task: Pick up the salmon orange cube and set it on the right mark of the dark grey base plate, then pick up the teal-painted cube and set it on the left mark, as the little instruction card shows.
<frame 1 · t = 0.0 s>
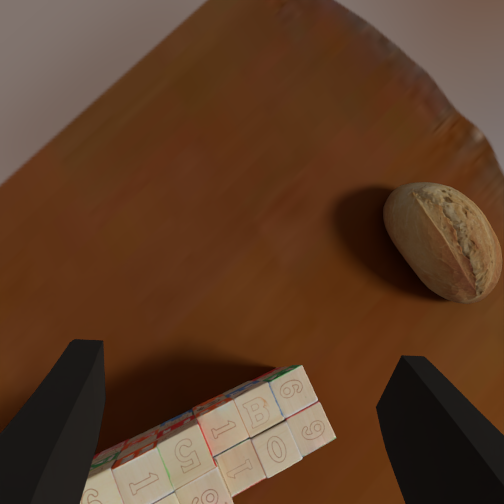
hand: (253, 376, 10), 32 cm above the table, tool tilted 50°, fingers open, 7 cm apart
stack of blocks: (188, 446, 40), on the table
bread roll: (422, 250, 49), on the table
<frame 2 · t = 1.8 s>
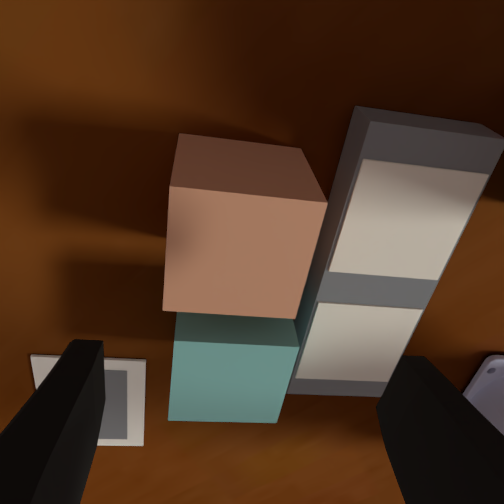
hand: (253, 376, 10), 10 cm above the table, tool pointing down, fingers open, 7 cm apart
teal cube: (226, 308, 22), on the table
salmon orange cube: (233, 195, 19), on the table
base plate: (364, 264, 21), on the table
instruction card: (93, 403, 26), on the table
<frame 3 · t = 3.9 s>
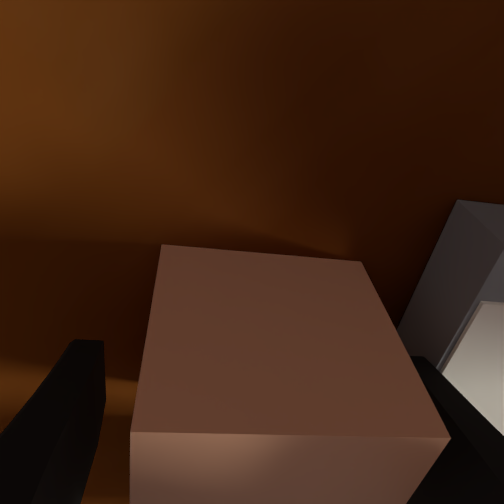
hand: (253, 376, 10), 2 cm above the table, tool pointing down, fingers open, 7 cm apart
salmon orange cube: (249, 325, 12), on the table
base plate: (439, 405, 15), on the table
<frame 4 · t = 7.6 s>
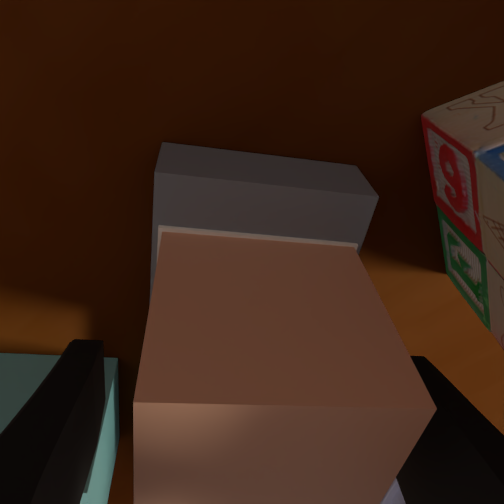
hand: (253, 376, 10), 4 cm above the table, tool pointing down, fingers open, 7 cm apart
teal cube: (53, 397, 17), on the table
salmon orange cube: (247, 312, 12), point 2 cm above the table, touching base plate
base plate: (228, 345, 16), on the table
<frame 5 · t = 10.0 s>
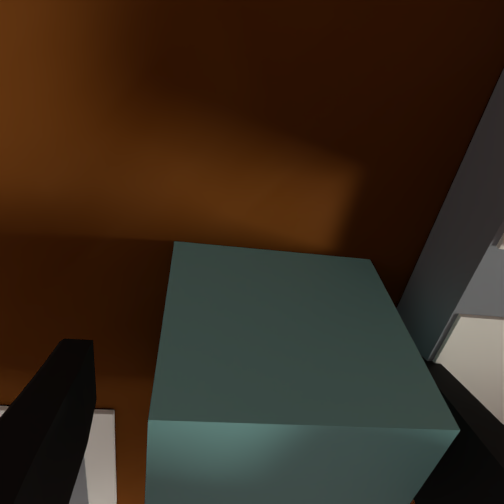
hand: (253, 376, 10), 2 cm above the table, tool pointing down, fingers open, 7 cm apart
teal cube: (258, 322, 12), on the table
instruction card: (29, 477, 15), on the table
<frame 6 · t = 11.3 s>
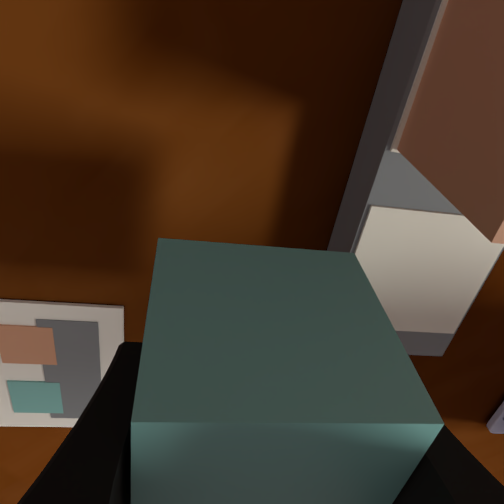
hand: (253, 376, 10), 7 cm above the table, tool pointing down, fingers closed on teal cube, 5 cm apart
teal cube: (245, 319, 12), point 5 cm above the table, touching gripper
base plate: (429, 162, 15), on the table
instruction card: (54, 369, 19), on the table
when the fingers open (4 cm above the table, at t = 13.2 s): teal cube stays where it is, resting on base plate.
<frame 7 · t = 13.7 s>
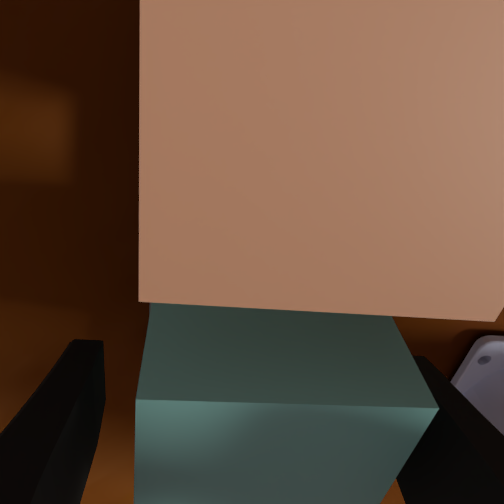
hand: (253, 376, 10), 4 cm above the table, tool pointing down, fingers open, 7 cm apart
teal cube: (248, 311, 12), point 2 cm above the table, touching base plate
salmon orange cube: (300, 49, 9), point 2 cm above the table, touching base plate
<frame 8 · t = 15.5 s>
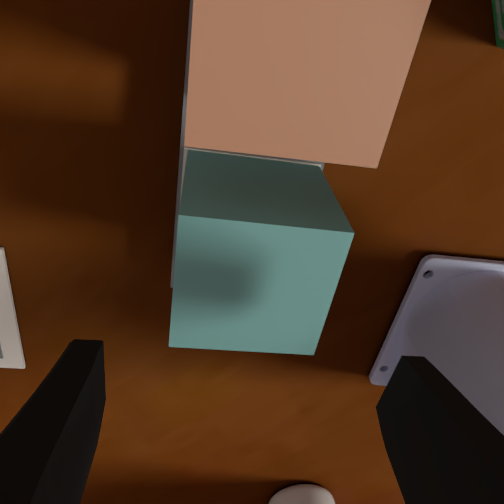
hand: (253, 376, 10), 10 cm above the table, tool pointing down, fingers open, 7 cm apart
drinking glass: (299, 495, 35), on the table
teal cube: (245, 216, 17), point 2 cm above the table, touching base plate
salmon orange cube: (277, 25, 14), point 2 cm above the table, touching base plate
base plate: (253, 116, 17), on the table
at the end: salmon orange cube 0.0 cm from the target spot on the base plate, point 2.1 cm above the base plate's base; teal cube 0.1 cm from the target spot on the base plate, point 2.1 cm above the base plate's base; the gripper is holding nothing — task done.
